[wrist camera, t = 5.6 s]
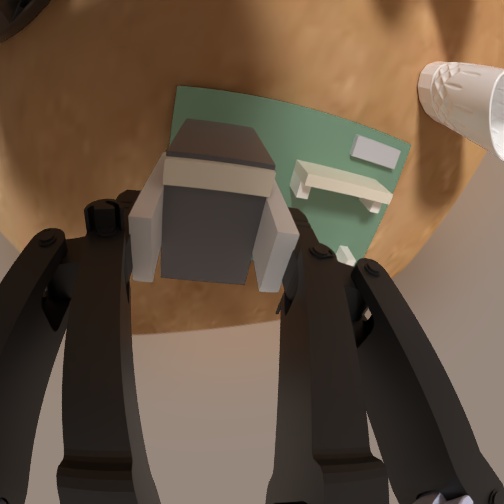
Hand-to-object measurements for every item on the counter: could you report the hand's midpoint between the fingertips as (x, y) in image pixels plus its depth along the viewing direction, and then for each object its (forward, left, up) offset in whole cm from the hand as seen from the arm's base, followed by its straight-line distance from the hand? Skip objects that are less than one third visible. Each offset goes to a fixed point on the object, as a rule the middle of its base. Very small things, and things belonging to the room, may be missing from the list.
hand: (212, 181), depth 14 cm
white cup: (+20, +11, -9) cm, 25 cm away
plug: (0, 0, -3) cm, 3 cm away
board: (+7, -4, -9) cm, 12 cm away
